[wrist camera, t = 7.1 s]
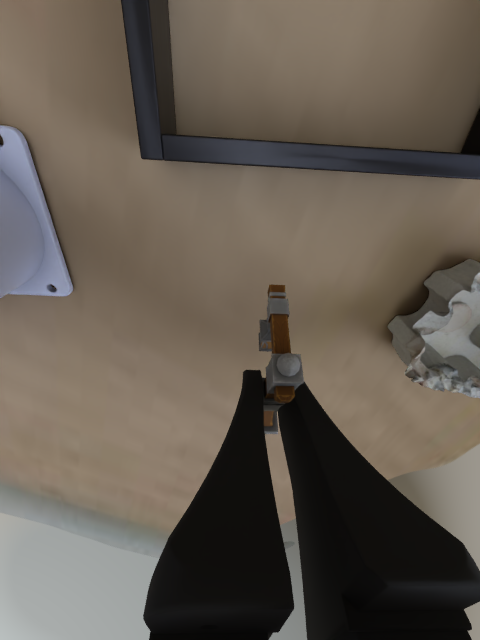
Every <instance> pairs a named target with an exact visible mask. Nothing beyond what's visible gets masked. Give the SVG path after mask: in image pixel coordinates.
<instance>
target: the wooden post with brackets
mask: <svg viewBox="0 0 480 640" xmlns="http://www.w3.org/2000/svg"><path fill="white" fill-rule="evenodd" d="M285 297H286V293H285V285H269V289H268V306H267V315H268V318H267V320H260V333H259V351H267V352H268V351H272V358H271V360H270V362H269V365H268V366H267V367H266V378H262V381H263V401H264V432H265V434H278V424H277V411H278V409H279V408H280V407H281V406H283V404H285V403H289V402H291V401H292V399H293V398H294V397H295V390H296V389H297V387H298V386H299V385H300V384H302V383H304V378H303V370H302V363H301V355H300V354H291V348H290V338H289V328H288V317H289V304H288V299H286V298H285Z"/></svg>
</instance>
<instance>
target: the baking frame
mask: <svg viewBox="0 0 480 640" xmlns="http://www.w3.org/2000/svg"><path fill="white" fill-rule="evenodd" d="M121 4H122V12H123V20H124V28H125V35H126V43H127V51H128V59H129V67H130V75H131V82H132V90H133V98H134V106H135V114H136V121H137V129H138V137H139V145H140V153H141V158H142V159H149V160H165V161H182V162H198V163H215V164H231V165H248V166H264V167H281V168H297V169H314V170H330V171H347V172H363V173H380V174H397V175H413V176H430V177H446V178H463V179H479V180H480V110H479V112H478V114H477V117H476V119H475V121H474V124H473V126H472V128H471V131H470V133H469V135H468V138H467V140H466V142H465V145H464V147H463V149H462V152H461V153H451V152H436V151H420V150H405V149H389V148H374V147H358V146H343V145H327V144H312V143H296V142H281V141H265V140H250V139H234V138H219V137H203V136H188V135H176V121H175V105H174V90H173V74H172V58H171V43H170V27H169V11H168V0H121Z"/></svg>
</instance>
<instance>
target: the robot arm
mask: <svg viewBox="0 0 480 640" xmlns="http://www.w3.org/2000/svg"><path fill="white" fill-rule="evenodd" d="M0 135H1V137H2V138H3V142H4V144H3V146H2V145H1V144H0V298H2V297H3V296H5V295H6V294H19V295H44V296H68V295H69V294H70V293H71V292H72V291H73V285H72V282H71V279H70V276H69V273H68V270H67V267H66V263H65V260H64V257H63V254H62V251H61V248H60V245H59V242H58V238H57V235H56V232H55V229H54V226H53V223H52V220H51V216H50V213H49V210H48V207H47V204H46V201H45V198H44V195H43V191H42V188H41V185H40V182H39V179H38V176H37V173H36V169H35V166H34V163H33V160H32V157H31V154H30V151H29V147H28V144H27V141H26V139H25V137H24V135H23V134H22V133H21V132H20V131H19V130H18V129H16V128H15V127H11V126H3V125H0ZM51 285H54V286H55V287H56V289H54V288H52V286H51ZM278 418H279V427H280V432H281V436H282V441H283V446H284V451H285V455H286V460H287V465H288V469H289V474H290V479H291V484H292V490H293V498H294V506H295V514H296V522H297V532H298V541H299V549H300V559H301V569H302V580H303V592H304V604H305V615H306V629H307V640H472V639H471V637H470V635H469V633H468V631H467V630H471V629H472V627H471V623H470V621H469V619H468V617H467V615H466V613H465V611H464V609H465V608H467V607H469V606H471V605H473V604H475V603H477V602H479V601H480V571H479V569H478V567H477V566H476V563H475V562H474V560H473V558H472V557H471V555H470V554H469V552H468V551H467V549H466V548H465V546H464V544H463V543H462V542H461V541H459V540H458V539H457V538H456V537H454V536H453V535H452V534H451V533H449V532H448V531H447V530H446V529H444V528H443V527H442V526H440V525H439V524H438V523H436V522H435V521H434V520H433V519H431V518H430V517H429V516H428V515H426V514H425V513H424V512H423V511H421V510H420V509H419V508H418V507H416V506H415V505H414V504H413V503H412V502H411V501H410V500H408V499H407V498H406V497H405V496H404V495H403V494H401V493H400V492H399V491H398V490H397V489H396V488H395V487H394V486H393V485H392V484H391V483H390V482H389V481H387V480H386V479H385V478H384V477H383V476H382V475H381V474H380V473H379V472H378V471H377V470H376V469H375V468H374V467H373V466H372V465H371V464H370V463H369V462H368V461H367V460H366V459H365V458H364V457H363V456H362V455H361V454H360V453H359V452H358V451H357V450H356V449H355V447H354V446H353V445H352V444H351V443H350V442H349V441H348V440H347V438H346V437H345V436H344V435H343V434H342V433H341V431H340V430H339V429H338V428H337V426H336V425H335V424H334V423H333V421H332V420H331V419H330V418H329V416H328V415H327V414H326V412H325V411H324V409H323V408H322V407H321V405H320V404H319V403H318V401H317V400H316V398H315V397H314V395H313V394H312V393H311V391H310V390H309V388H308V386H307V385H306V383H305V382H304V383H302V384H300V385H299V386H298V387H297V389H296V390H295V397H294V398H293V399H292V401H291V402H289V403H285V404H283V406H281V407H280V408H279V409H278ZM293 609H294V601H293V594H292V585H291V578H290V571H289V567H288V562H287V557H286V553H285V548H284V543H283V538H282V533H281V528H280V523H279V518H278V513H277V508H276V502H275V497H274V491H273V486H272V480H271V474H270V467H269V461H268V455H267V448H266V441H265V432H264V401H263V381H262V376H261V371H260V370H245V371H244V372H243V383H242V390H241V395H240V398H239V402H238V405H237V409H236V412H235V414H234V417H233V420H232V423H231V425H230V428H229V430H228V433H227V435H226V438H225V440H224V442H223V444H222V447H221V449H220V451H219V453H218V455H217V457H216V459H215V461H214V463H213V465H212V467H211V469H210V471H209V473H208V475H207V476H206V478H205V480H204V482H203V483H202V485H201V487H200V489H199V490H198V492H197V494H196V495H195V497H194V499H193V501H192V502H191V504H190V506H189V507H188V509H187V510H186V512H185V513H184V515H183V517H182V518H181V520H180V521H179V523H178V524H177V526H176V527H175V529H174V530H173V532H172V533H171V535H170V537H169V538H168V541H167V543H166V545H165V548H164V550H163V552H162V554H161V556H160V559H159V561H158V564H157V566H156V568H155V571H154V573H153V576H152V579H151V582H150V586H149V590H148V595H147V600H146V605H145V610H144V615H143V616H144V621H145V623H146V625H147V626H148V628H149V629H150V631H151V632H150V638H149V640H269V638H270V637H271V635H272V633H273V632H279V631H280V629H281V627H282V626H283V625H284V623H285V621H286V620H287V619H288V617H289V616H290V614H291V612H292V611H293Z"/></svg>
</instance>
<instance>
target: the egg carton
mask: <svg viewBox="0 0 480 640" xmlns="http://www.w3.org/2000/svg"><path fill="white" fill-rule="evenodd" d="M424 285H425V286H426V287H427V288H428V290H429V297H428V299H427V301H426V302H425V304H424V305H423V306H422V307H421V308H420V309H419V310H418V311H417V312H415V313H413V314H411V315H407V316H400V315H398V316H396V317H395V318H394V319H393V320H392V321H391V322H390V323H389V325H388V326H387V327H388V328H389V330H390V331H391V332H392V333H393V340H392V345H393V347H394V348H395V350H396V352H397V354H398V355H399V357H400V358H401V360H402V361H403V362H404V363H405V364H406V365H407V366H409V367H408V368H407V370H406V371H405V375H406V376H407V377H409V378H413V379H412V381H413V382H418V383H419V384H420V385H422V386H424V387H430V388H431V389H433V390H441V391H444V388H445V389H447V390H449V391H451V392H453V393H454V392H459V393H463V394H465V395H467V396H470V397H477V398H480V262H477V261H475V260H473V259H468V260H466V261H464V262H463V263H461V264H459V265H456V266H454V267H452V268H450V269H446V270H439V271H436V272H434V273H433V274H432V275H431V277H429V278H428V279H427V280H425V282H424Z"/></svg>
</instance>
